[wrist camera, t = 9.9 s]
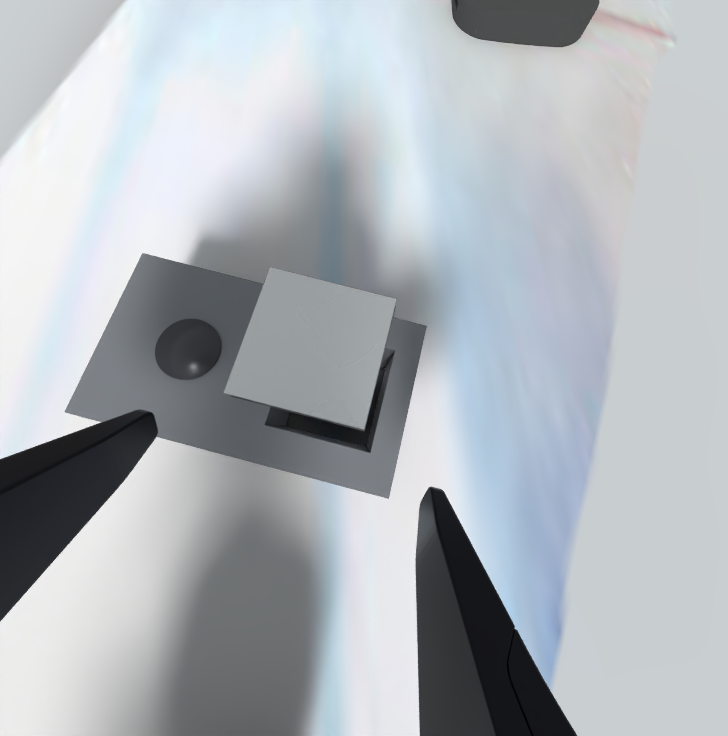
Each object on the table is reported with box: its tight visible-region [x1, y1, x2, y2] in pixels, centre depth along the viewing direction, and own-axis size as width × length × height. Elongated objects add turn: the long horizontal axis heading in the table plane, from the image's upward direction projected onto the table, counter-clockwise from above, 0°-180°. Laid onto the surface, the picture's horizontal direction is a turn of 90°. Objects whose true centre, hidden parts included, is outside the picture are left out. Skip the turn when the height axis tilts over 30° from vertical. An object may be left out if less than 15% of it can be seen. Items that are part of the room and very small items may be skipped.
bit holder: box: [65, 253, 427, 499], centre depth 18 cm, size 10×18×5 cm, turn 76°
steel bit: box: [224, 267, 397, 432], centre depth 14 cm, size 4×4×13 cm
